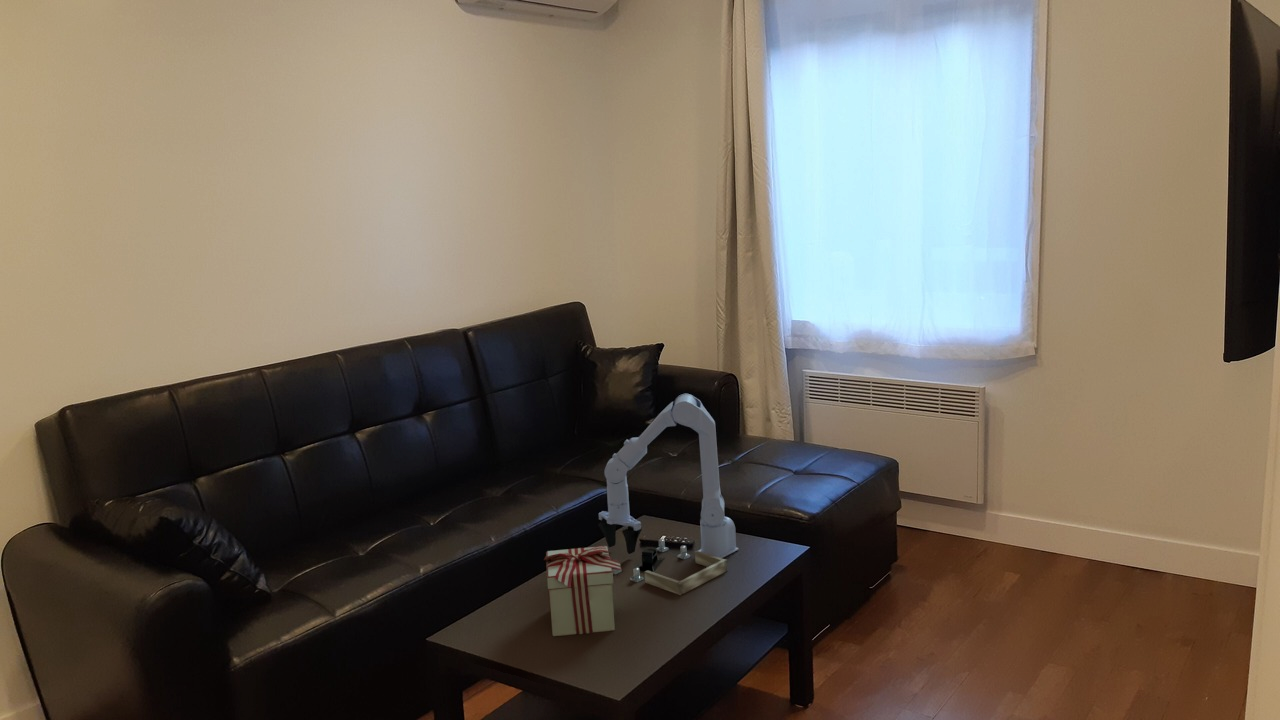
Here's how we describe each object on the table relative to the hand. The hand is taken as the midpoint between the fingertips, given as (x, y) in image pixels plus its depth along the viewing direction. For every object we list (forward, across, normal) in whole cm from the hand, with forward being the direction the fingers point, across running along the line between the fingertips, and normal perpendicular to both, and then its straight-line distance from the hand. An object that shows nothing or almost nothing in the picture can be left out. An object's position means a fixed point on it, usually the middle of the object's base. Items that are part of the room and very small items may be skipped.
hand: (621, 549), depth 258 cm
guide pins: (+2, +11, 0) cm, 11 cm away
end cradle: (+2, +24, 0) cm, 24 cm away
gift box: (+2, +22, -33) cm, 40 cm away
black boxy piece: (+2, +10, 0) cm, 11 cm away
